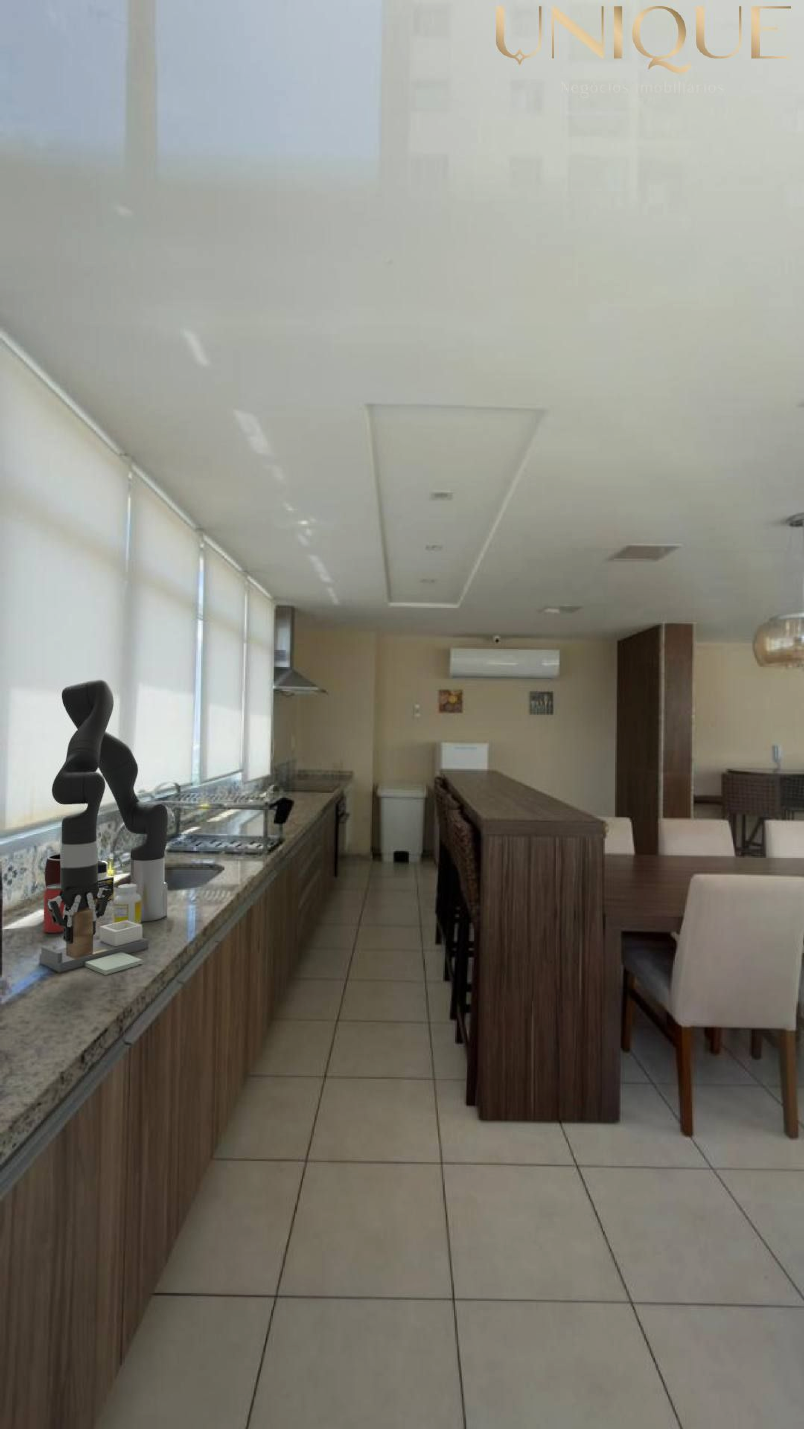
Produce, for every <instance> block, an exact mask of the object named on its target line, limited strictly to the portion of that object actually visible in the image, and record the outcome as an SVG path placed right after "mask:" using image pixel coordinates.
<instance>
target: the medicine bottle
mask: <svg viewBox="0 0 804 1429" xmlns="http://www.w3.org/2000/svg"><path fill="white" fill-rule="evenodd" d="M108 865H109V863H108V862H107V861H105V860H98V881H97V885H98V887H99V888H100V889H102V888H105V889H109V890H110V891H111V893H110V897H109V900H112V899H113V900H114V899H115V895H114V894H115V893H114V892H115V891H114V890H115V888H114V887H115V885H114V881H115V878H114V877H115V876H113V875H110V874H109V875H108V873H109V867H108ZM97 900H98V896H97V895H96V897H95V899H94V900H93V902H94V904H96V903H97Z"/></svg>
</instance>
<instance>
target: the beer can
mask: <svg viewBox="0 0 804 1429" xmlns="http://www.w3.org/2000/svg"><path fill="white" fill-rule="evenodd" d="M60 891H61V884H53V885H49V886H47V887H46V886H45V891H44V893H43V931H44V932H45V933H48V934H59V933H63V926H59V925H56V924H54V923H53V920H52V917H51V915H50V912H49V910H48V907H47V904H46V901H47V900H48V899H51V900H52V899H54V898H56V897H58V896H59V893H60ZM64 906H65V904H64V903H63V902H62V901H61V902H60V907H59V909H60V912H61V915H62V917H63V915H64V914H63V910H64Z"/></svg>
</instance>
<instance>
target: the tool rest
mask: <svg viewBox="0 0 804 1429" xmlns="http://www.w3.org/2000/svg"><path fill="white" fill-rule="evenodd" d="M139 964H141V965H143V959H141V958H138V957H136V956H134V955H131V954H129V953H128V954H126V953H123V952H120V953H116V954H112V955H109V956H105V957H101V958H98V959H94V960H90V961H87V962H85V966H84V967H85V968H87V969H91V971H95V972H97V973H100V974H102V975H104V976H107V975H110V974H113V973H117V972H120V971H123V970H127V969H129V968H130V967H131V968H133V967H136V966H140V965H139Z"/></svg>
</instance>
